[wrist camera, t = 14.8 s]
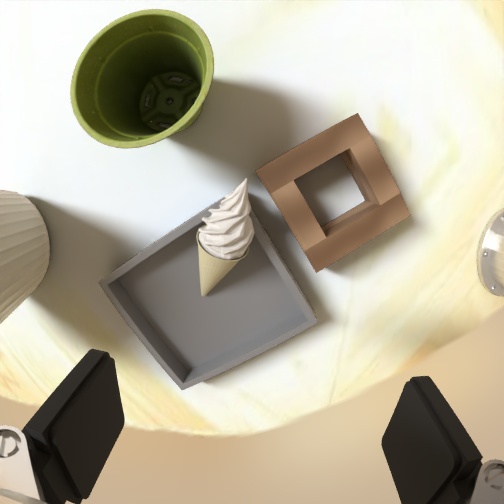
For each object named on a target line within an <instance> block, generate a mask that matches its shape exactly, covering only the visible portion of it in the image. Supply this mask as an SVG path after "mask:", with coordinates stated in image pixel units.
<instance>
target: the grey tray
mask: <svg viewBox="0 0 504 504" xmlns="http://www.w3.org/2000/svg"><path fill="white" fill-rule="evenodd" d="M231 193H232V192H231ZM224 199H225V197H223V198H222V199H220V200H218V201H217V202H215V203H214V204H212V205H211V206H209V207H207V208H206V209H204V210H203V211H201V212H200V213H198V214H197V215H195V216H193V217H192V218H190V219H189V220H187V221H186V222H184V223H183V224H181V225H180V226H178V227H177V228H175V229H174V230H172V231H171V232H169V233H168V234H166V235H165V236H163V237H162V238H160V239H159V240H157V241H156V242H154V243H153V244H151V245H150V246H148V247H147V248H146V249H144V250H143V251H141V252H140V253H138V254H137V255H135V256H134V257H132V258H131V259H130V260H128V261H127V262H125V263H124V264H122V265H121V266H120V267H118V268H117V269H115V270H114V271H113V272H111V273H110V274H109V275H107V276H106V277H105V278H103V279H102V280H101V281H100V282H98V283H99V284H100V286H101V287H102V289H103V290H104V292H105V293H106V294H107V296H108V297H109V299H110V300H111V302H112V303H113V304H114V306H115V307H116V309H117V310H118V311H119V313H120V314H121V315H122V317H123V318H124V320H125V321H126V322H127V324H128V325H129V326H130V328H131V329H132V330H133V331H134V333H135V334H136V335H137V337H138V338H139V339H140V341H141V342H142V343H143V344H144V346H145V347H146V348H147V349H148V351H149V352H150V353H151V354H152V356H153V357H154V358H155V359H156V360H157V362H158V363H159V364H160V365H161V366H162V368H163V369H164V370H165V371H166V372H167V374H168V375H169V376H170V377H171V378H172V379H173V381H174V382H175V383H176V384H177V385H178V386H179V387H180V389H181V390H184V389H186V388H189V387H191V386H193V385H195V384H198V383H200V382H202V381H204V380H207V379H209V378H211V377H213V376H215V375H217V374H220V373H222V372H224V371H226V370H228V369H230V368H232V367H234V366H236V365H238V364H240V363H242V362H244V361H247V360H249V359H251V358H253V357H255V356H257V355H259V354H261V353H262V352H264V351H266V350H268V349H270V348H272V347H274V346H276V345H278V344H280V343H282V342H284V341H286V340H287V339H289V338H291V337H293V336H295V335H297V334H299V333H301V332H302V331H304V330H306V329H308V328H310V327H311V326H313V325H315V324H317V323H318V321H317V318H316V316H315V313H314V311H313V308H312V307H311V305H310V303H309V302H308V300H307V298H306V297H305V295H304V293H303V292H302V290H301V288H300V287H299V285H298V283H297V282H296V280H295V279H294V277H293V275H292V274H291V272H290V270H289V269H288V267H287V265H286V264H285V262H284V260H283V259H282V257H281V256H280V254H279V252H278V251H277V249H276V247H275V246H274V244H273V242H272V241H271V239H270V238H269V236H268V234H267V233H266V231H265V229H264V228H263V226H262V225H261V223H260V221H259V220H258V218H257V217H256V215H255V213H254V212H253V210H252V208H251V210H250V213H249V217H250V218H251V219H252V223H253V228H254V232H255V233H254V235H253V238H252V241H251V243H250V244H249V251H248V253H247V255H246V256H245V257H244V258H242V259H240V260H239V261H238V262H237V264H236V265H235V266H234V267H233V268H232V269H231V270H230V271H229V272H228V273H227V274H226V275H225V276H224V277H223V278H222V279H221V280H220V281H219V282H218V283H217V284H216V285H215V286H214V287H213V288H212V289H211V290H210V291H209V292H208V294H207V295H206V296H202V295H201V286H200V271H199V252H198V242H197V237H196V236H197V232H198V230H199V228H201V227H202V226H204V225H207V224H206V223H205V222H204V221H202V218H203V217H207V218H208V217H210V216H211V215H212V213H211V212H209V211H208V210H209V209H220V206H219V205H221V201H222V200H224Z"/></svg>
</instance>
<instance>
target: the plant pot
mask: <svg viewBox="0 0 504 504" xmlns="http://www.w3.org/2000/svg"><path fill="white" fill-rule="evenodd" d="M213 73H214V58H213V51H212V47H211V44H210V42H209V40H208V38H207V36H206V34H205V33H204V31H203V30H202V29H201V28H200V27H199V26H198V25H197V24H196V23H195V22H194V21H192V20H191V19H189V18H188V17H186V16H184V15H182V14H179V13H177V12H174V11H169V10H162V9H149V10H141V11H137V12H134V13H130V14H128V15H125V16H123V17H121V18H119V19H117V20H115V21H113V22H112V23H110V24H109V25H107V26H106V27H105V28H103V29H102V30H101V31H100V32H99V33H98V34H97V35H96V36H94V37H93V39H92V40H91V41H90V42H89V43H88V45H87V46H86V48H85V49H84V51H83V52H82V54H81V56H80V57H79V59H78V61H77V64H76V66H75V69H74V72H73V76H72V81H71V90H70V95H71V104H72V108H73V112H74V114H75V116H76V118H77V120H78V122H79V124H80V125H81V127H82V128H83V129H84V130H85V131H86V132H87V133H88V134H89V135H90V136H91V137H92V138H94V139H95V140H97V141H98V142H101V143H103V144H105V145H108V146H112V147H116V148H137V147H143V146H147V145H150V144H154V143H156V142H158V141H161V140H163V139H165V138H167V137H168V136H170V135H172V134H174V133H177V132H180V131H182V130H184V129H186V128H187V127H189V126H190V125H191V124H192V123H193V122H194V121H195V120H196V119H197V118H198V116H199V114H200V112H201V110H202V107H203V102H204V100H205V98H206V96H207V94H208V91H209V89H210V86H211V83H212V78H213ZM171 77H179V78H182V79H183V80H182V81H181V82H178V81H169V79H170V78H171ZM191 80H193V81H191ZM189 81H191V82H190V83H188V82H189ZM187 83H188V84H187ZM186 84H187V85H186ZM147 94H150V95H151V96H150V99H149V103H148V105H149V106H148V107H147V106H146V107H145V100H146V95H147ZM168 98H172V99H173V102H172V103H171V104H167V103H166V100H167V99H168ZM193 98H196V100H195V103H194V104H193ZM192 104H193V106H192ZM151 121H152V122H151ZM159 123H165V124H171V125H172V126H171V127H170V128H163V127H159Z"/></svg>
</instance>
